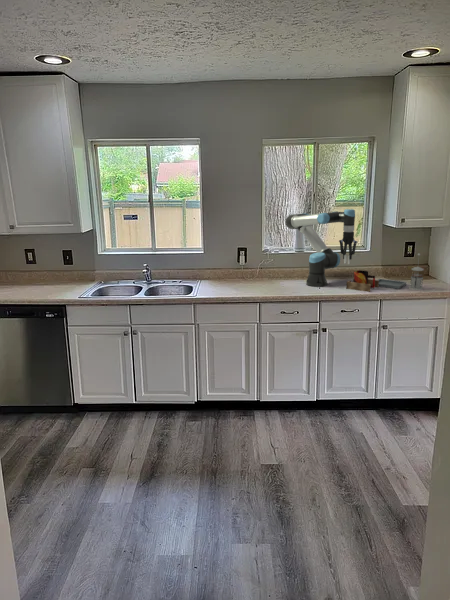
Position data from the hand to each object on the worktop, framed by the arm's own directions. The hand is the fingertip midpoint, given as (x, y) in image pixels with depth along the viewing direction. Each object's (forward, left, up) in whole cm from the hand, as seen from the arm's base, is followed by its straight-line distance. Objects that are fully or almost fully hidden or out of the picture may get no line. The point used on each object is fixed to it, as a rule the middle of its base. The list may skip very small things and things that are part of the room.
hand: (347, 263), depth 312 cm
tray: (+25, +18, -16) cm, 35 cm away
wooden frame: (+13, 0, -16) cm, 21 cm away
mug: (+13, 0, -17) cm, 21 cm away
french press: (+44, +18, -17) cm, 50 cm away
